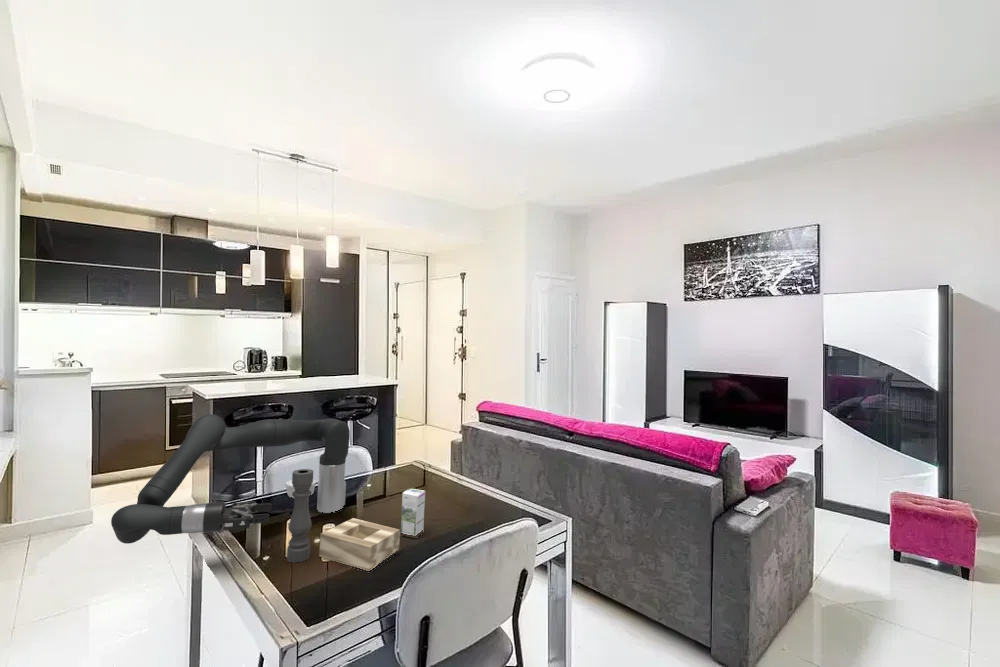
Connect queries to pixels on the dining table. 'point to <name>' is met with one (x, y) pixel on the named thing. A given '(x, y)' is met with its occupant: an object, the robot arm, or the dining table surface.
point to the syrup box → (412, 511)
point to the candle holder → (300, 516)
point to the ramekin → (291, 489)
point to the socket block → (359, 543)
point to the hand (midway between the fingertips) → (270, 512)
